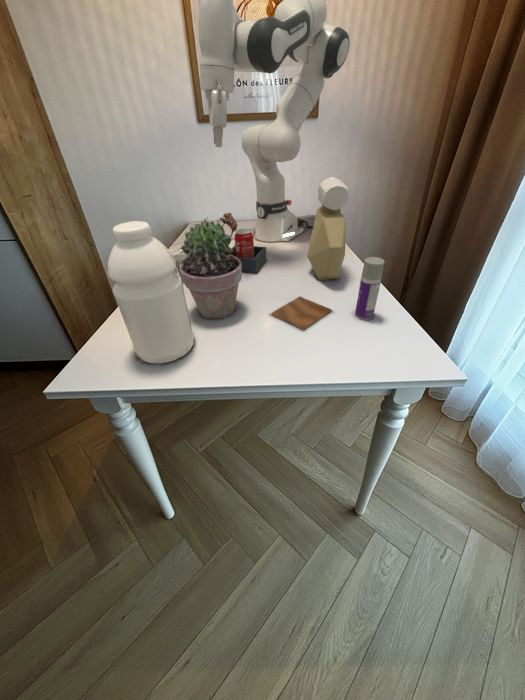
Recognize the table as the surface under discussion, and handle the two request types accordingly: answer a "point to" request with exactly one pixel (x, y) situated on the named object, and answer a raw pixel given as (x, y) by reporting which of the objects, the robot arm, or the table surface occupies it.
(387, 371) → the table surface
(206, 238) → the potted plant
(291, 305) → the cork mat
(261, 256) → the bin
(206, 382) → the table surface
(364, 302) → the container
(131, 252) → the bottle
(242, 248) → the beverage can
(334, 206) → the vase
